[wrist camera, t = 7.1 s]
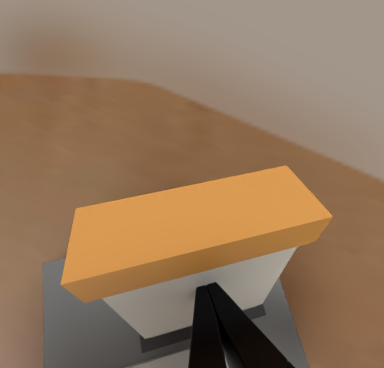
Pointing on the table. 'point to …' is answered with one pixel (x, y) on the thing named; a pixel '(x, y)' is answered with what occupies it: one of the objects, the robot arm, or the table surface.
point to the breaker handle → (190, 246)
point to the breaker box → (131, 340)
